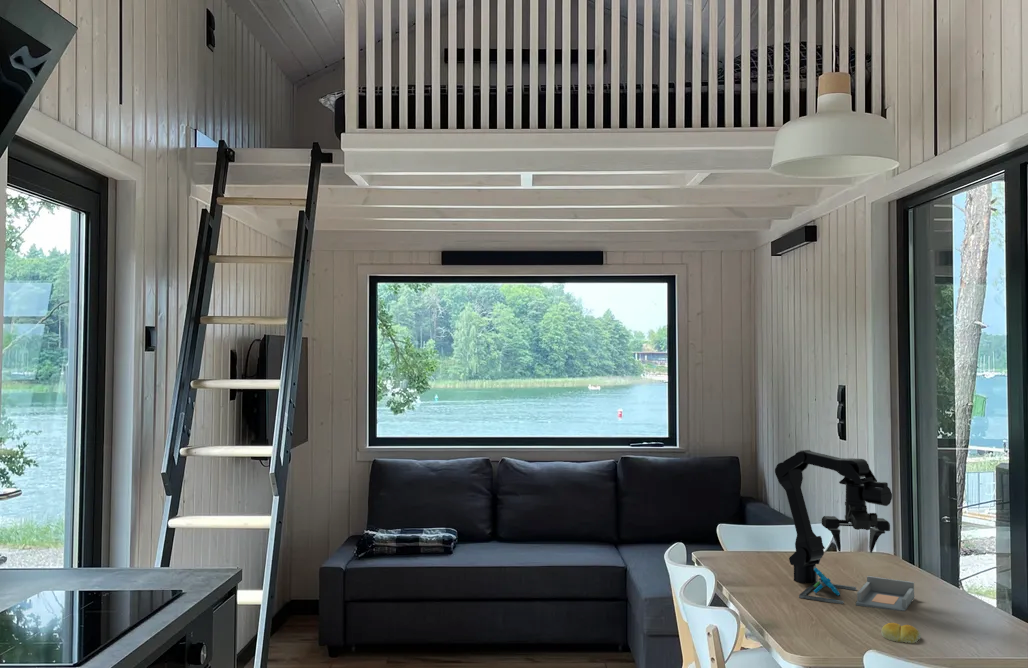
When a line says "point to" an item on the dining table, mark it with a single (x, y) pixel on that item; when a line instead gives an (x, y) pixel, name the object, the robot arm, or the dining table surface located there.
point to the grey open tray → (886, 594)
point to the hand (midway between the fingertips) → (855, 551)
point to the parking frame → (805, 596)
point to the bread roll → (900, 633)
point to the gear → (824, 582)
